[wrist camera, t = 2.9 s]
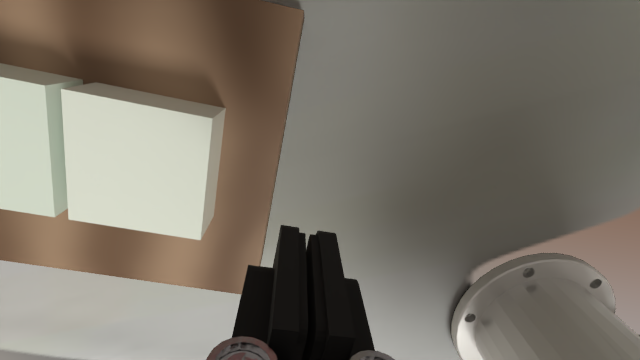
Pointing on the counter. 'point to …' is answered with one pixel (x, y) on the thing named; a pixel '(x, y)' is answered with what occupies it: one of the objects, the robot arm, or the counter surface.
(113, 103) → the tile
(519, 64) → the counter surface
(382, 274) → the counter surface
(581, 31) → the counter surface
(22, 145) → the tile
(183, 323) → the counter surface
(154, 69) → the tan square panel
